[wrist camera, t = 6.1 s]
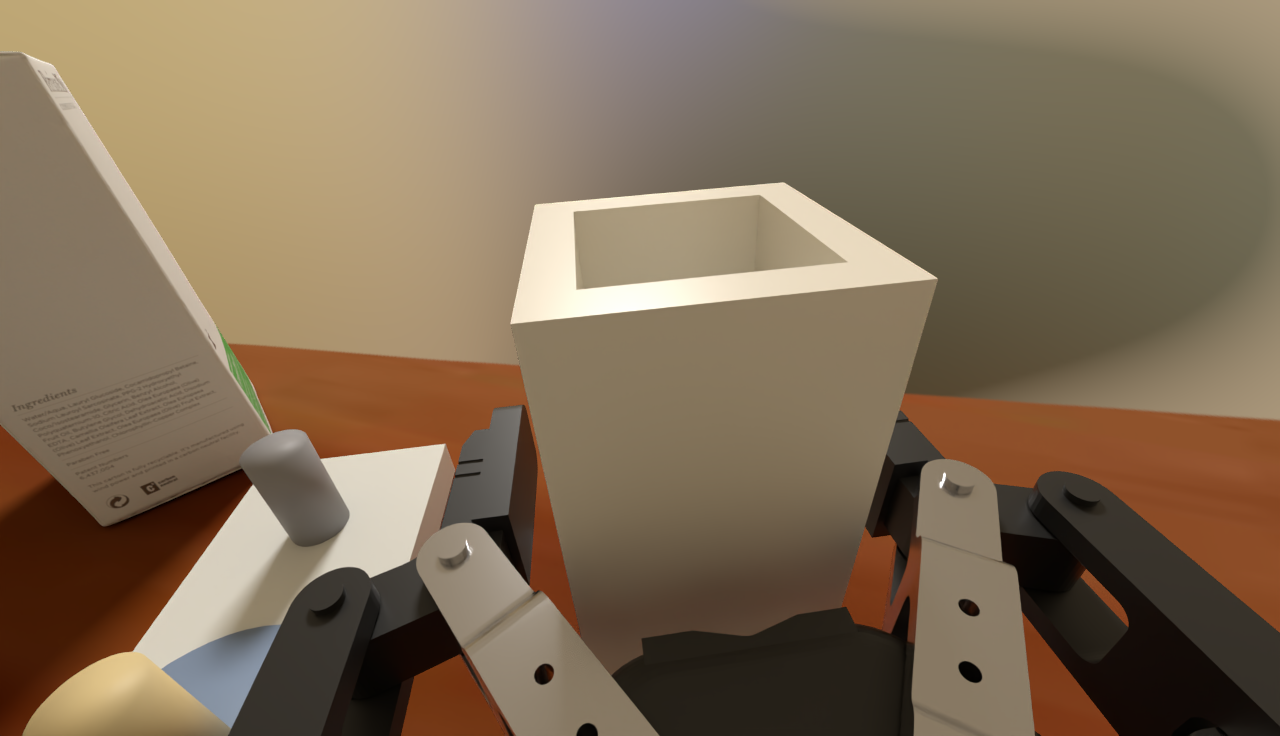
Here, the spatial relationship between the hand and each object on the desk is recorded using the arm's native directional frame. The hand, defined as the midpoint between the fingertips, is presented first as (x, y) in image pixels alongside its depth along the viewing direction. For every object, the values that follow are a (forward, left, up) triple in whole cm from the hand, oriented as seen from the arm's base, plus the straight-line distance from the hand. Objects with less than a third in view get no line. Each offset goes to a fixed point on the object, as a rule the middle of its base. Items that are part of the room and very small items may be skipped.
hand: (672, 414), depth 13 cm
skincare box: (-7, +23, -7) cm, 25 cm away
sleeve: (-1, -1, -7) cm, 7 cm away
